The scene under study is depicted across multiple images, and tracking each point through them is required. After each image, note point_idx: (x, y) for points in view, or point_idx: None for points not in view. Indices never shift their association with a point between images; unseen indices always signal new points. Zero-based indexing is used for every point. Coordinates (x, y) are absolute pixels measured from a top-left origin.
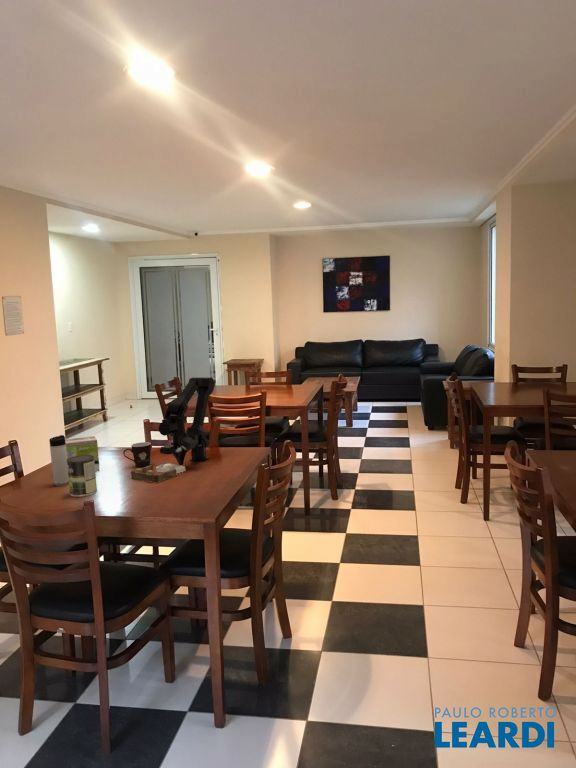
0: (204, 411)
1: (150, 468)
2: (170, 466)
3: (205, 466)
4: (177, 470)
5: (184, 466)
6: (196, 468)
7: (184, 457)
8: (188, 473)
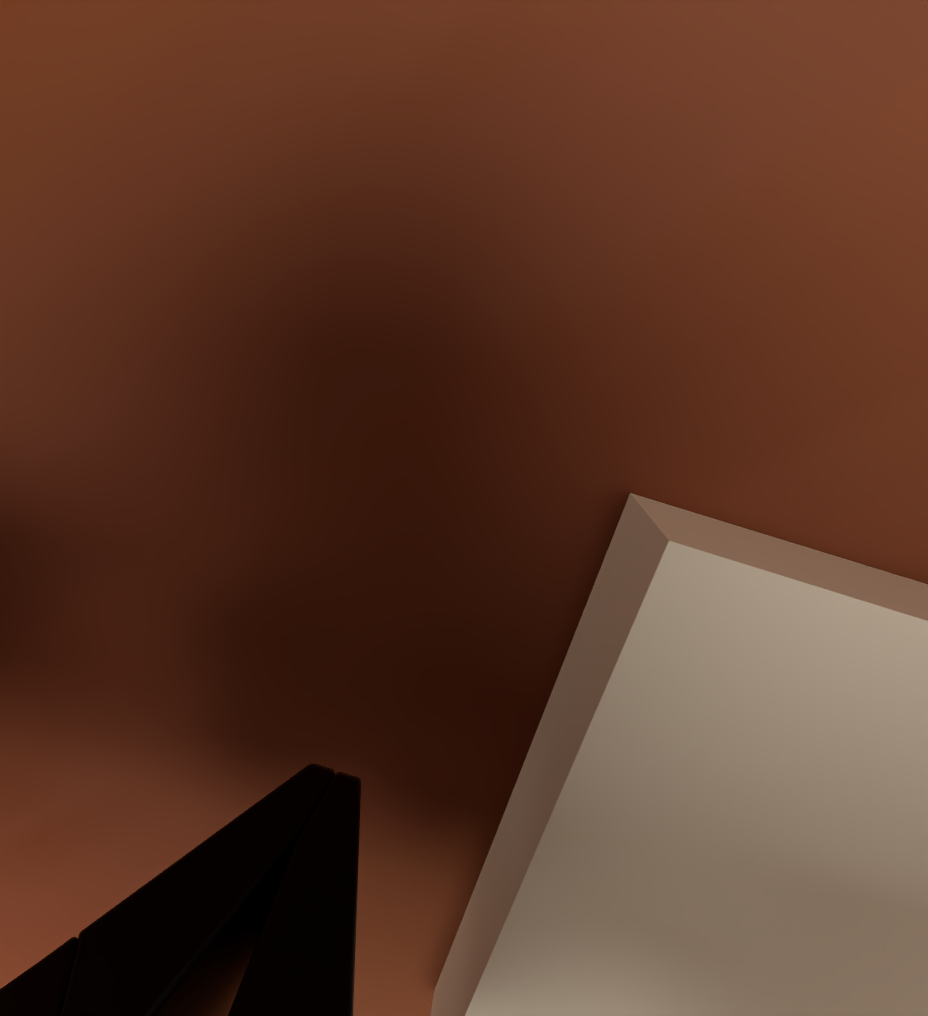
0: None
1: None
2: (730, 1010)
3: (31, 130)
4: None
5: (704, 550)
6: (295, 305)
7: (72, 956)
8: (906, 236)
